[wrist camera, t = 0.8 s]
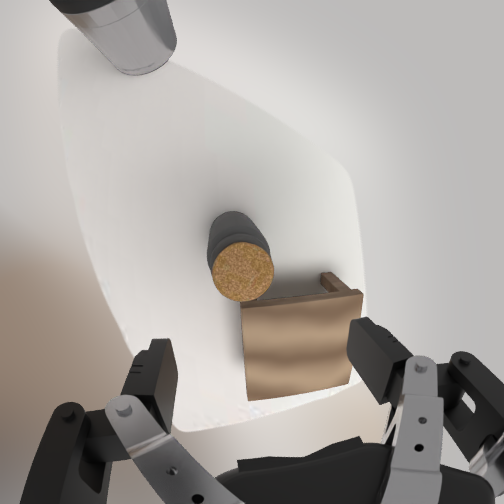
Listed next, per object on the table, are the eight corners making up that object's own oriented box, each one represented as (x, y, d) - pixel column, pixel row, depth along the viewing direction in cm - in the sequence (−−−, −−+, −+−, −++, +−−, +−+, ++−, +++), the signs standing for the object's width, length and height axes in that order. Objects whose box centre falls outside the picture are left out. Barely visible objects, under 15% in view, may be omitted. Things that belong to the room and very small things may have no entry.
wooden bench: (235, 278, 37) (241, 308, 28) (334, 269, 38) (363, 293, 29) (241, 361, 40) (248, 401, 32) (327, 349, 42) (348, 383, 33)
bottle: (232, 201, 34) (242, 219, 20) (264, 232, 36) (296, 271, 21) (200, 235, 35) (188, 276, 20) (233, 264, 36) (244, 321, 22)
